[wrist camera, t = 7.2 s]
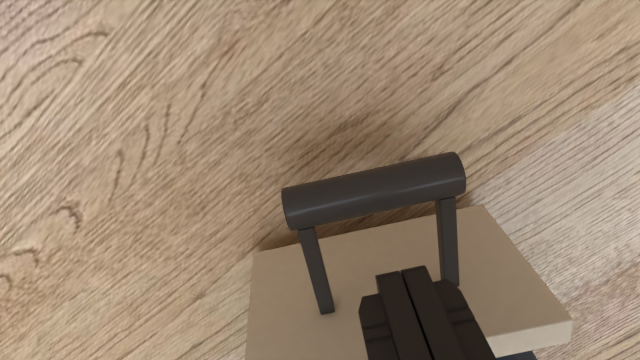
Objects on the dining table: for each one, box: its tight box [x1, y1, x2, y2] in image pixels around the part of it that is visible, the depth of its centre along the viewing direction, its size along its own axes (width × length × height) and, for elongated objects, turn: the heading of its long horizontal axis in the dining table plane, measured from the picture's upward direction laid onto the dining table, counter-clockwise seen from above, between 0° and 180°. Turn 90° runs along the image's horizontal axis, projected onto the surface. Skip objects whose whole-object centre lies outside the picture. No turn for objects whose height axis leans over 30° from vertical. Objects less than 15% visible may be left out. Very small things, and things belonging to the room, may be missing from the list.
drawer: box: [245, 152, 574, 360], centre depth 20 cm, size 19×12×7 cm, turn 11°
